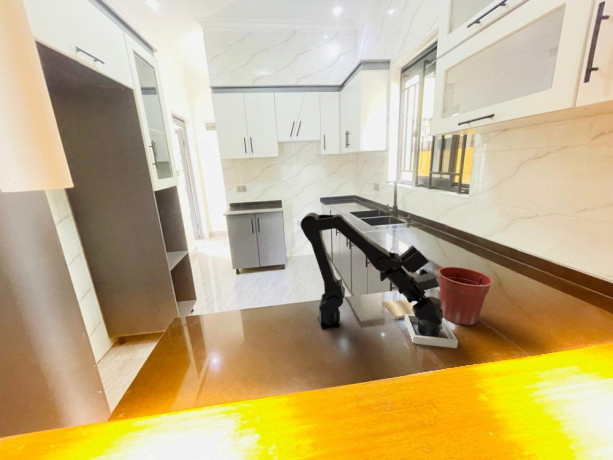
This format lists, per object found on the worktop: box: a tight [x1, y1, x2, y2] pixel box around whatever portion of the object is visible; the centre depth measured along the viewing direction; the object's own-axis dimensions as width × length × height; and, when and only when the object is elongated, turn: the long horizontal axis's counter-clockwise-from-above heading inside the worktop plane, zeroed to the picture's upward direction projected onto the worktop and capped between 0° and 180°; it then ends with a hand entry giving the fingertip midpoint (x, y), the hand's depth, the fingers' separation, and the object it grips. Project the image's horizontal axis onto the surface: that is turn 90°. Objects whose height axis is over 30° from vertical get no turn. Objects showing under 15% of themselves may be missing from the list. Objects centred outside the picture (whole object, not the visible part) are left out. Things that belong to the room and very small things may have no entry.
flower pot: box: [437, 266, 494, 326], centre depth 90 cm, size 16×16×16 cm
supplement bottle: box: [416, 295, 444, 338], centre depth 81 cm, size 7×7×12 cm
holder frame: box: [403, 314, 459, 349], centre depth 82 cm, size 13×13×2 cm
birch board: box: [381, 299, 416, 320], centre depth 96 cm, size 12×10×1 cm
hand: (435, 315), depth 81 cm, fingers open, 9 cm apart
